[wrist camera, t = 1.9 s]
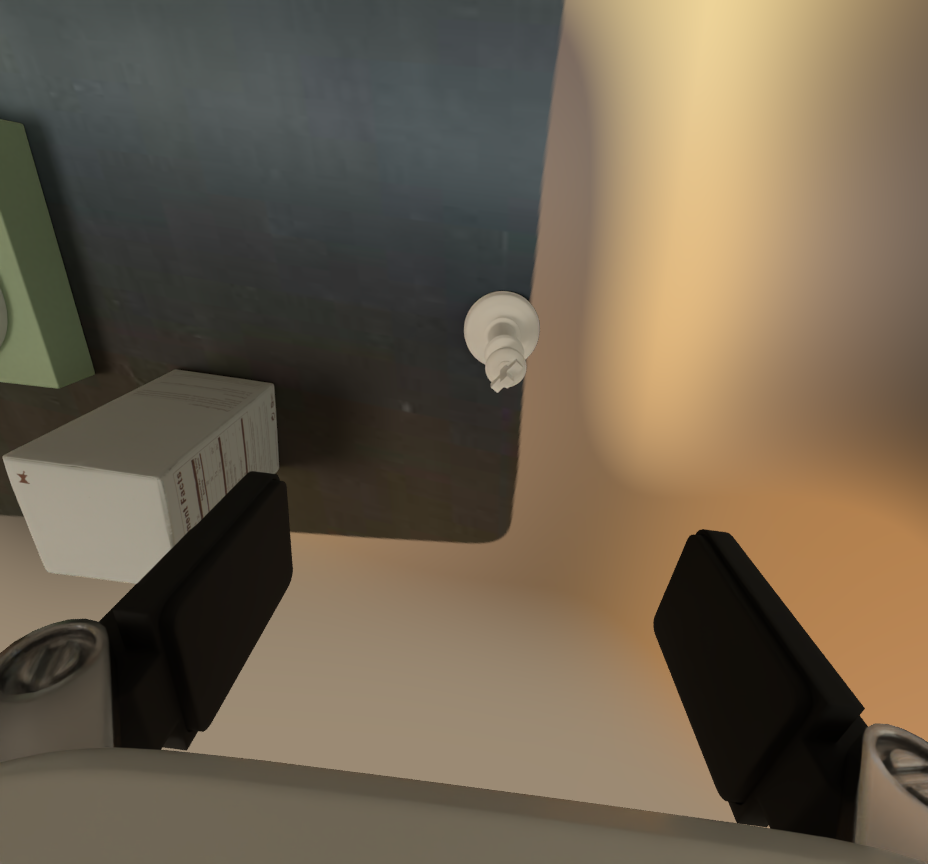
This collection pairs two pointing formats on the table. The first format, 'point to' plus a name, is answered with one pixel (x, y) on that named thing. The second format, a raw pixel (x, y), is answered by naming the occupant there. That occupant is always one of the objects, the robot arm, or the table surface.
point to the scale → (33, 280)
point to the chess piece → (502, 336)
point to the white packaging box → (141, 471)
